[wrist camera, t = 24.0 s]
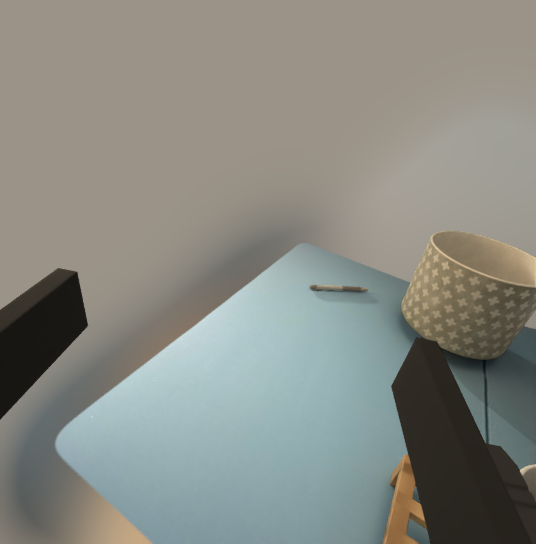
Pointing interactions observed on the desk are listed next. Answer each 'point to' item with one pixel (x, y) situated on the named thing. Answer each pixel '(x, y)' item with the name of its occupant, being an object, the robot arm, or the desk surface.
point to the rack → (403, 505)
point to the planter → (471, 294)
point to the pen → (337, 288)
